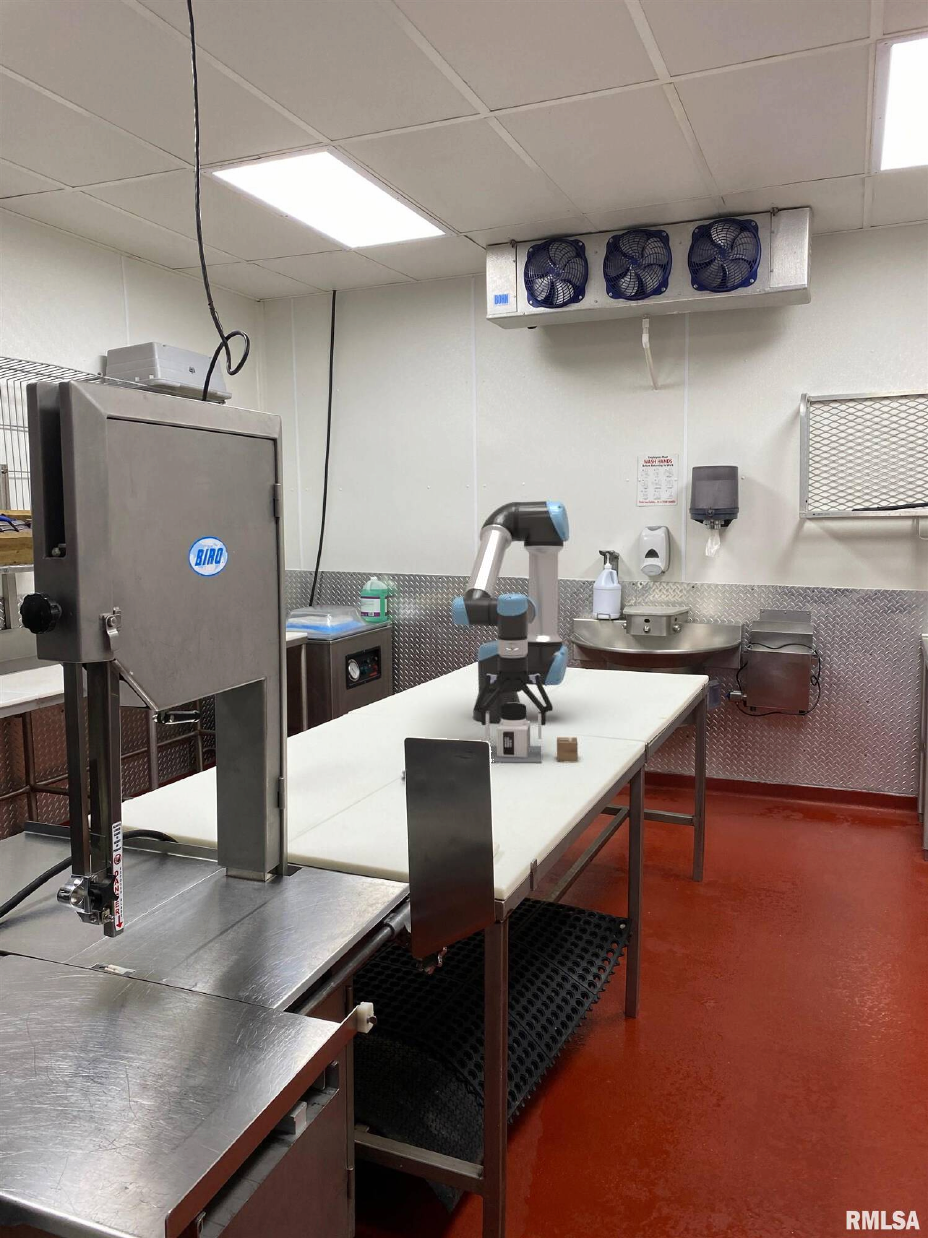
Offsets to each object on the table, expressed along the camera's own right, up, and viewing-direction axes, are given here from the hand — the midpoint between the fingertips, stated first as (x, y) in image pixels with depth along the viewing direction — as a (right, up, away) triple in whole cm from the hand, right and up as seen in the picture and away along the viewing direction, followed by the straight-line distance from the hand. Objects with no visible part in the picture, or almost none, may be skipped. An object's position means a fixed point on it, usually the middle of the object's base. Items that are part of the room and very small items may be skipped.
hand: (513, 737), depth 222 cm
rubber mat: (0, -5, +1) cm, 5 cm away
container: (0, -4, +1) cm, 4 cm away
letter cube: (+13, -5, -4) cm, 15 cm away
